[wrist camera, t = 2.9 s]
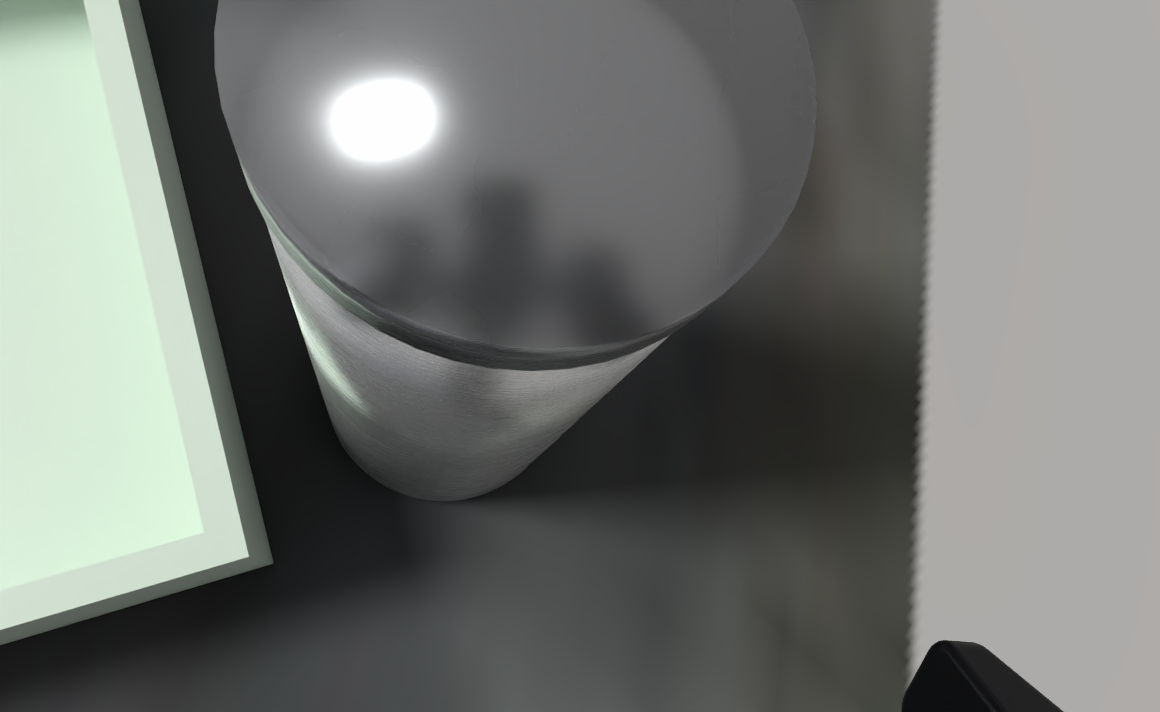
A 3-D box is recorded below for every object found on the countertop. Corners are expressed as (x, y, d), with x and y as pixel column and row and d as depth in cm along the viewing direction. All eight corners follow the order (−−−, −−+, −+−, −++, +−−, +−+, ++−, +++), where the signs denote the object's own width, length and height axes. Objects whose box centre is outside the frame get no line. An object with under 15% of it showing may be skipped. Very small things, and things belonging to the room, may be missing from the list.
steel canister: (533, 528, 20) (772, 418, 7) (291, 471, 19) (116, 244, 7) (582, 307, 21) (849, -85, 9) (361, 246, 21) (322, -271, 8)
